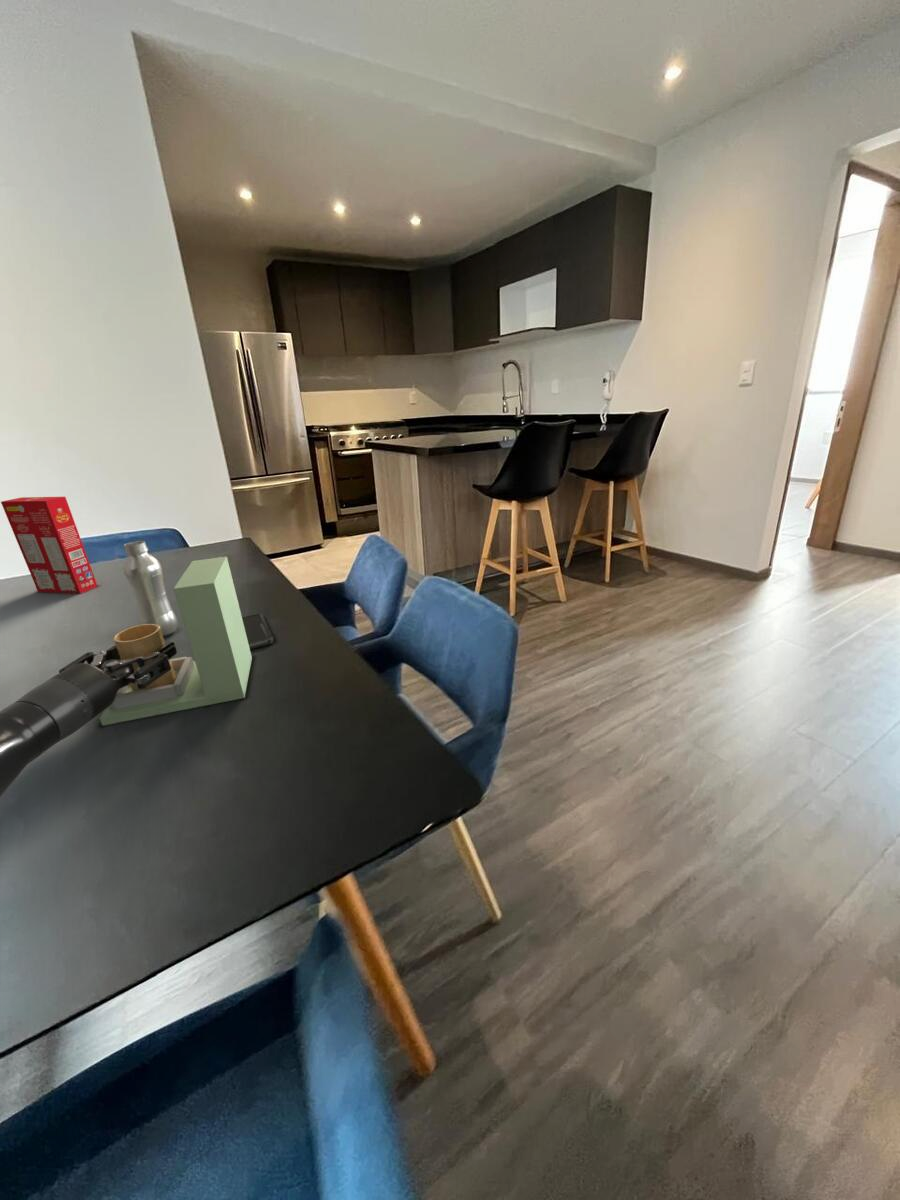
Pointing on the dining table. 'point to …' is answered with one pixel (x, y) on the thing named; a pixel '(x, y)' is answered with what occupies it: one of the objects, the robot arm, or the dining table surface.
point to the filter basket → (143, 649)
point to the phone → (257, 631)
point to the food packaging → (50, 544)
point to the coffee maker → (197, 649)
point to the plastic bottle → (149, 587)
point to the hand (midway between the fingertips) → (150, 646)
